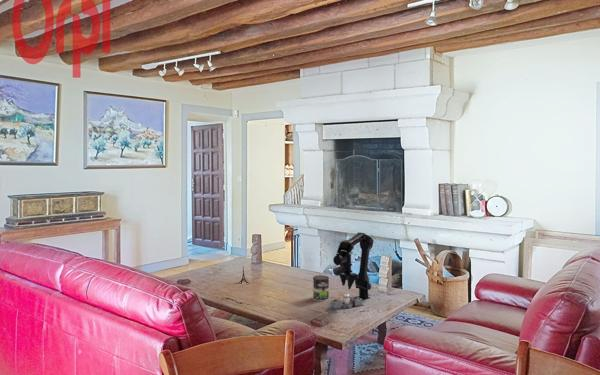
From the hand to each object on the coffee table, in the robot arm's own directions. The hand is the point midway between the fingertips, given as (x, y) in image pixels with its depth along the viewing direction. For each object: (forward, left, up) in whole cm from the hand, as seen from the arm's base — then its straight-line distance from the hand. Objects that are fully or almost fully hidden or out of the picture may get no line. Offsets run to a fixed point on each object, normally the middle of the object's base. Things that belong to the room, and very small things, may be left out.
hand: (346, 287), depth 277 cm
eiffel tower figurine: (-76, -44, -13) cm, 89 cm away
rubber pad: (+5, -12, -12) cm, 18 cm away
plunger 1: (0, -7, -11) cm, 13 cm away
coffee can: (-20, -8, -12) cm, 25 cm away
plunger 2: (0, +7, -11) cm, 13 cm away
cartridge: (0, 0, -12) cm, 12 cm away
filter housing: (0, 0, -12) cm, 12 cm away
